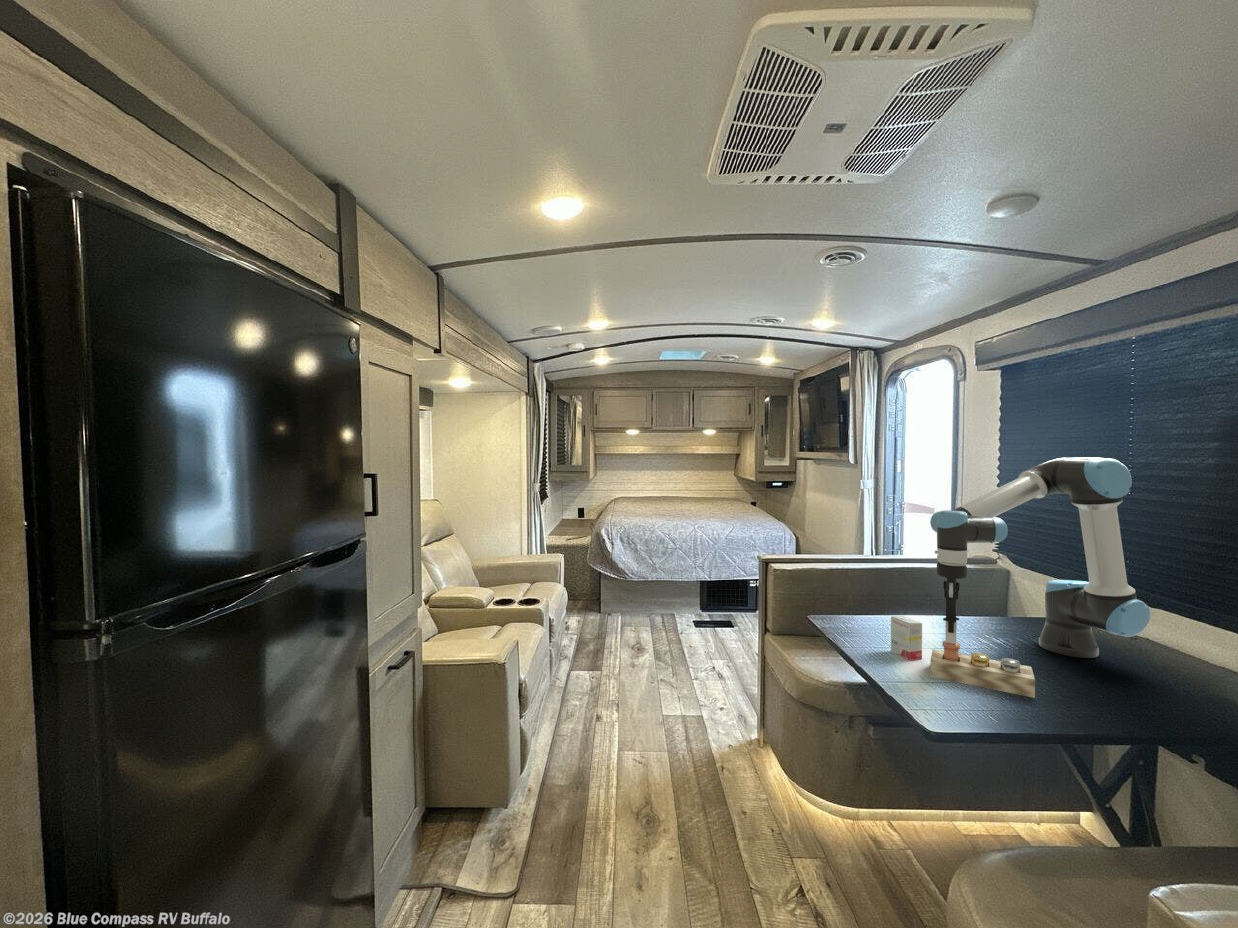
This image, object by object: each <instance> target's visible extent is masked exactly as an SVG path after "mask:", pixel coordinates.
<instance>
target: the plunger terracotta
mask: <svg viewBox="0 0 1238 928" xmlns="http://www.w3.org/2000/svg"><path fill="white" fill-rule="evenodd" d="M942 647H943V651H944V659H946V660H951V661H957V662H958V654H959V650H961V644H960V643H959V642H957V641H956V644H952V643H947V642H945V640H943V641H942Z"/></svg>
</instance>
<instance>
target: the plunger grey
mask: <svg viewBox="0 0 1238 928" xmlns="http://www.w3.org/2000/svg"><path fill="white" fill-rule="evenodd" d="M1000 661H1001V664H1002V665H1003V667H1002V670H1005V671H1011V672H1016V673H1019V667H1020V665H1021V662H1020V661H1019V660H1017V659H1013V658H1009V657H1002V658H1000Z"/></svg>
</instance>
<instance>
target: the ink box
mask: <svg viewBox="0 0 1238 928" xmlns="http://www.w3.org/2000/svg"><path fill="white" fill-rule="evenodd" d="M890 652H892V653H894V654H896V655H898V656H900V657H903V658H905V659H907V660H909V661H914V660H915V661H916V660H922V659H923V623H922V622H920V621H917V620H915V619H914V618H913V619H912V618H910V617H908V616H905V615H892V616H890Z"/></svg>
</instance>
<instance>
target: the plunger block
mask: <svg viewBox="0 0 1238 928" xmlns="http://www.w3.org/2000/svg"><path fill="white" fill-rule="evenodd" d="M930 655H931V656H930V662H929V663H930V665H929V666H930V668H929V669H930V671H929V672H930V674H929V675H930V677H931V678H935V679H940V680H945V681H948V682H949V681H950V682H955V683H961V684H964V685H970V686H974V687H979V688H984V689H990V690H994V691H999V692H1002V693H1003V692H1004V693H1009V694H1013V695H1019V696H1023V697H1028V698H1033V699H1035V698H1036V678H1035V675H1034V672H1033V671H1034V670H1033V668H1032V666H1029V665H1024V664H1023V665H1022V664H1020V667H1019V673H1016V672H1011V671H1005V670H1002V667H1003V665H1002V664H1001V660H996V659H990V658H989V662H988V667H984V666H978V665H973V664H972V659H971V655H966V654H962V653H958V662H957V661H951V660H946V659H944V650H940V649H932V650H931V654H930Z"/></svg>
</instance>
